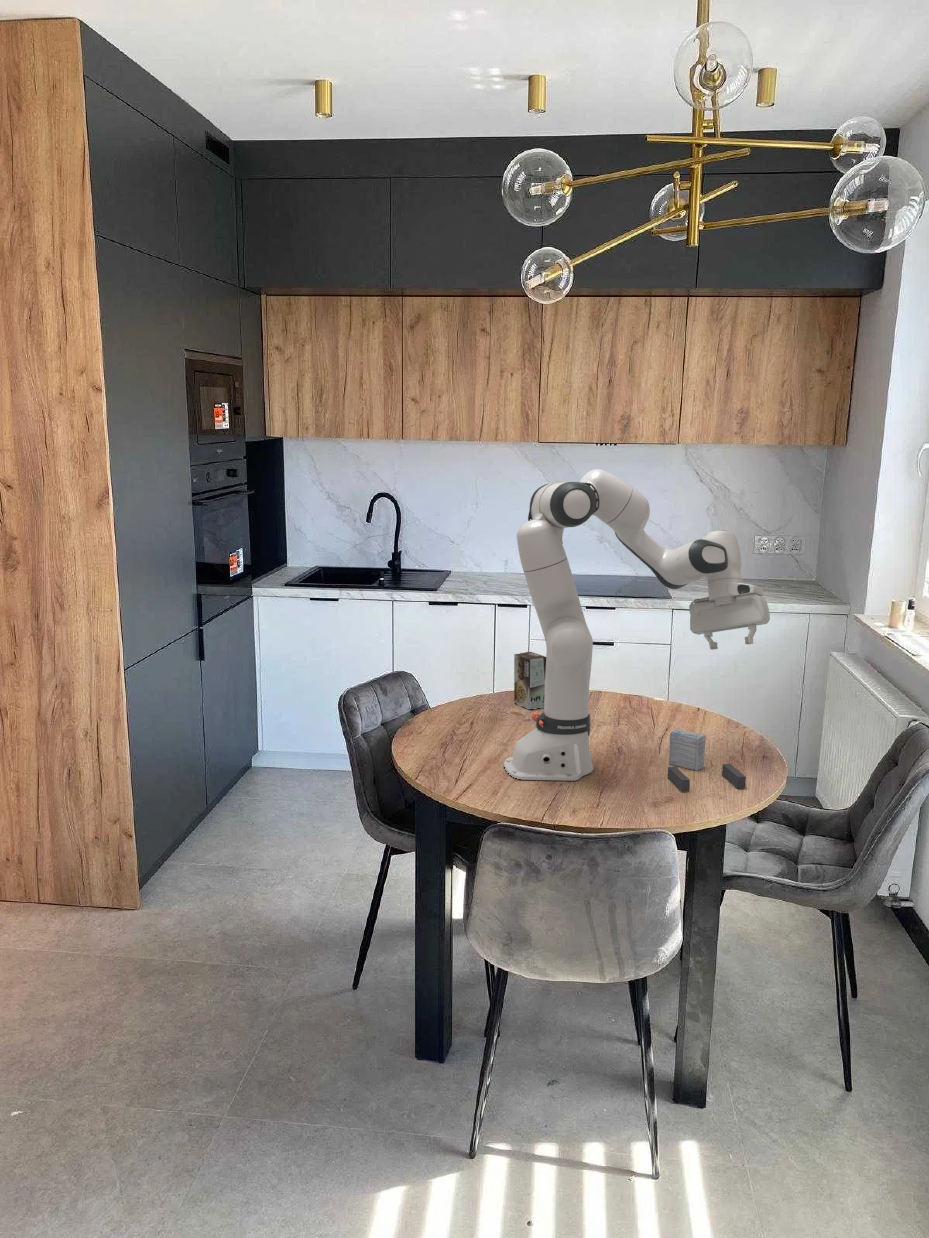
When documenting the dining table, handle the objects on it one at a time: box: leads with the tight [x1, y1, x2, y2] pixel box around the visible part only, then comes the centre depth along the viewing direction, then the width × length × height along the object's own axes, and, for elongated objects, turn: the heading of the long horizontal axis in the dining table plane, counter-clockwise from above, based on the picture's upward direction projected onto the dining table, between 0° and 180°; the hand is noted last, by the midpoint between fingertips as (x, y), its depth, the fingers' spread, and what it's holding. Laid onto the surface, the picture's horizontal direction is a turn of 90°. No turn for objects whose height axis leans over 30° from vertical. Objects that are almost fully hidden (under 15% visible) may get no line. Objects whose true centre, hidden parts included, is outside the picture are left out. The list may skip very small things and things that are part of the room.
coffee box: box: [513, 651, 546, 710], centre depth 290 cm, size 9×6×16 cm
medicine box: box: [668, 728, 706, 772], centre depth 238 cm, size 8×4×9 cm, turn 49°
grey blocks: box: [667, 763, 747, 793], centre depth 227 cm, size 16×9×3 cm, turn 98°
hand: (731, 646), depth 237 cm, fingers open, 8 cm apart
